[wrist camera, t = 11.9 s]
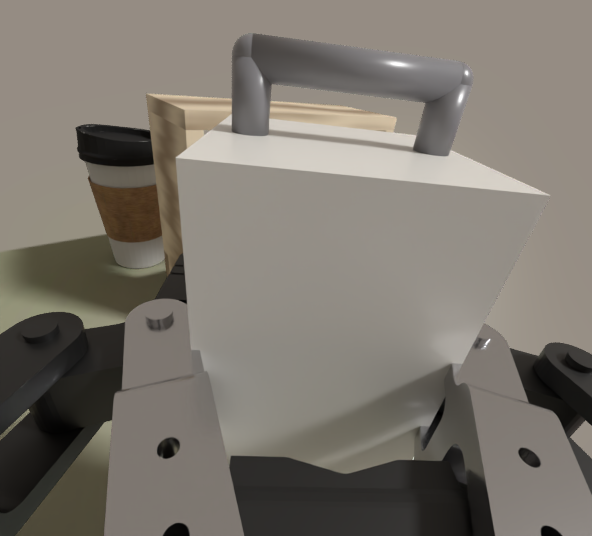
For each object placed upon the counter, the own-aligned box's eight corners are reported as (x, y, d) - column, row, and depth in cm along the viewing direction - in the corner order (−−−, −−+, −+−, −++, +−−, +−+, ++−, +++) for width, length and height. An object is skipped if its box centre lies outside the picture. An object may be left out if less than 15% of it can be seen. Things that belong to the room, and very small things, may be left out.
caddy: (370, 539, 10) (621, 61, 4) (206, 538, 10) (162, -3, 3) (344, 399, 14) (438, 67, 8) (230, 395, 14) (231, 40, 7)
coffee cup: (103, 244, 42) (75, 120, 34) (172, 238, 46) (160, 123, 38) (102, 279, 36) (68, 136, 28) (182, 268, 39) (171, 139, 32)
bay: (356, 276, 42) (397, 117, 32) (198, 335, 30) (184, 109, 20) (317, 249, 48) (340, 105, 38) (168, 289, 36) (145, 93, 26)
